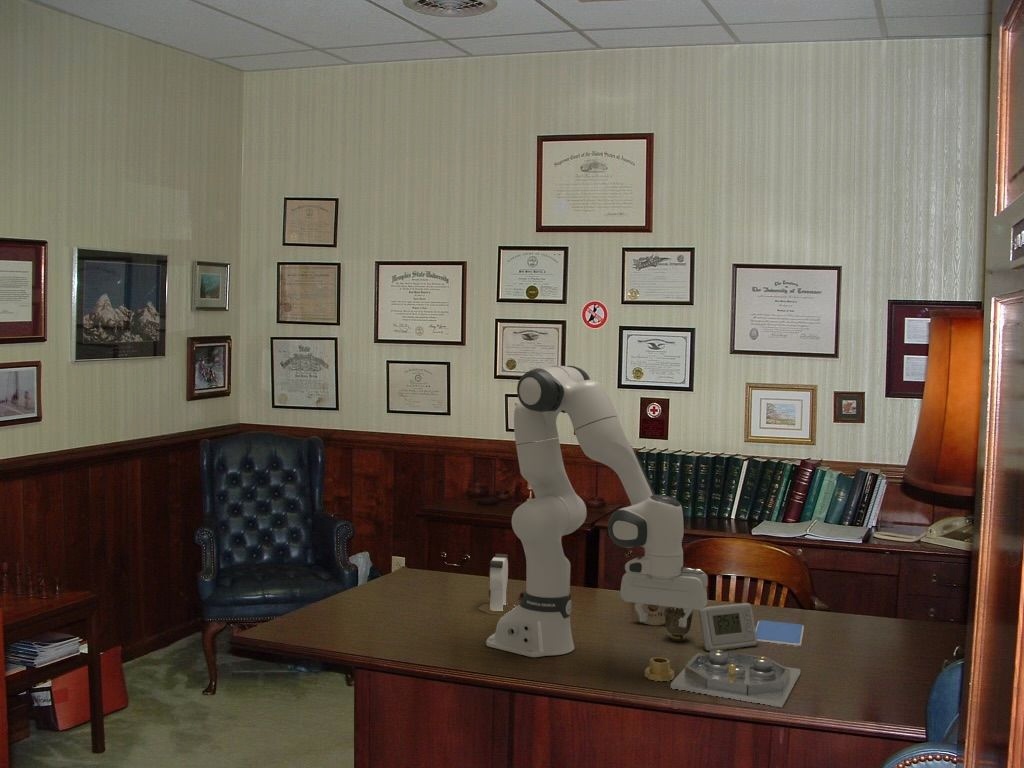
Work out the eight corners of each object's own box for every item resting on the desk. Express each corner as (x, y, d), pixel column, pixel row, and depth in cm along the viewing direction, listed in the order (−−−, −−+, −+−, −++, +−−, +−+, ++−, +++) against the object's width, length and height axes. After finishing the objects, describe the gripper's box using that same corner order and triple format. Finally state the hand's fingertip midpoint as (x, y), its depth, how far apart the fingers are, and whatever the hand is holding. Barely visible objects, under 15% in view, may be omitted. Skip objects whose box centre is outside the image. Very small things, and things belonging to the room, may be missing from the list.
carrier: (670, 688, 238) (671, 664, 238) (697, 658, 261) (698, 635, 261) (782, 707, 228) (783, 682, 228) (800, 674, 251) (801, 650, 250)
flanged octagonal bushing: (642, 678, 244) (642, 662, 244) (650, 670, 250) (650, 654, 250) (668, 683, 242) (669, 666, 241) (676, 675, 247) (676, 658, 247)
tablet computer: (801, 648, 273) (801, 643, 273) (751, 643, 276) (752, 638, 276) (804, 629, 291) (804, 624, 291) (757, 624, 295) (758, 619, 295)
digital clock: (704, 653, 265) (705, 611, 265) (691, 642, 274) (692, 602, 274) (763, 650, 269) (765, 609, 268) (748, 640, 278) (750, 600, 277)
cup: (691, 645, 271) (692, 614, 271) (662, 642, 273) (663, 612, 272) (692, 637, 279) (693, 607, 278) (664, 634, 280) (665, 605, 280)
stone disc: (671, 623, 291) (673, 588, 290) (671, 627, 287) (672, 591, 287) (634, 621, 293) (635, 585, 292) (633, 624, 289) (634, 589, 288)
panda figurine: (482, 602, 308) (483, 551, 307) (520, 604, 307) (521, 554, 306) (475, 613, 296) (476, 560, 295) (514, 615, 295) (516, 563, 294)
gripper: (711, 567, 243) (710, 626, 243) (626, 558, 251) (626, 615, 252) (704, 572, 237) (703, 632, 238) (618, 563, 245) (617, 622, 246)
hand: (662, 624), depth 245 cm, fingers open, 8 cm apart
